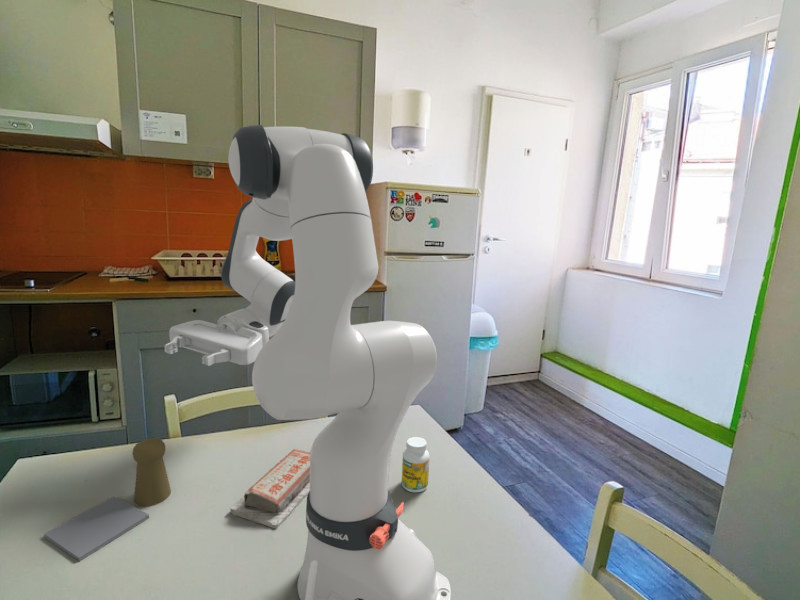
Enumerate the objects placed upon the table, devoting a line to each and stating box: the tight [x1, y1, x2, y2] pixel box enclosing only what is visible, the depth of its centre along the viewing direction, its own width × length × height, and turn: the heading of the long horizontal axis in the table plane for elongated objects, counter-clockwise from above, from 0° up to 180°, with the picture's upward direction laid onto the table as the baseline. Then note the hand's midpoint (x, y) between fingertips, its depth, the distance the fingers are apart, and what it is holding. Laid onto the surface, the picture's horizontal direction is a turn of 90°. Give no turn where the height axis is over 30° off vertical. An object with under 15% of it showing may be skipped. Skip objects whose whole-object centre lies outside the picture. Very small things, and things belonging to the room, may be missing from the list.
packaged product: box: [229, 448, 310, 529], centre depth 83 cm, size 18×5×10 cm
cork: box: [132, 437, 172, 508], centre depth 80 cm, size 6×6×11 cm
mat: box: [43, 495, 150, 562], centre depth 72 cm, size 10×11×1 cm
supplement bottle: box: [401, 436, 431, 493], centre depth 87 cm, size 5×5×10 cm
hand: (185, 355), depth 83 cm, fingers open, 8 cm apart
